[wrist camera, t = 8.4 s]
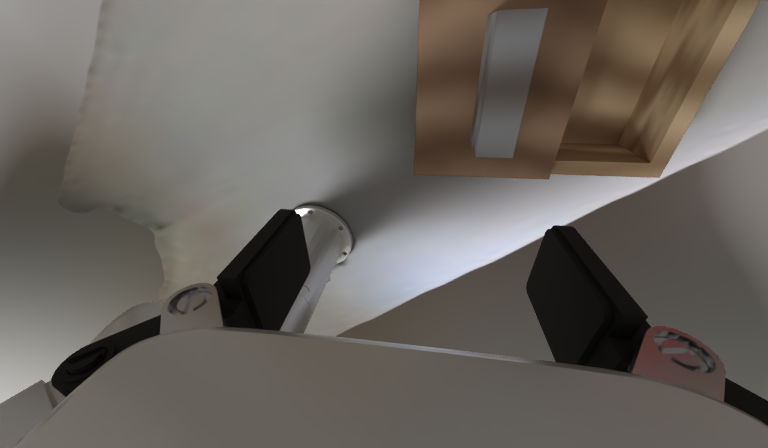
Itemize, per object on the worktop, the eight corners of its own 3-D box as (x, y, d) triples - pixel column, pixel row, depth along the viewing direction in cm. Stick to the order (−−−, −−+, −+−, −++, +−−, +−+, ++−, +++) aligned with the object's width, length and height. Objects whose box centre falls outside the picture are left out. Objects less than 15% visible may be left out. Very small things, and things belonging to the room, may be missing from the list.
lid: (545, 174, 30) (567, 202, 25) (414, 170, 32) (410, 195, 27) (619, -60, 20) (682, -94, 15) (421, -45, 22) (417, -69, 17)
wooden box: (622, 153, 34) (659, 177, 28) (502, 151, 36) (514, 172, 30) (715, -48, 24) (802, -74, 18) (542, -36, 26) (572, -56, 20)
